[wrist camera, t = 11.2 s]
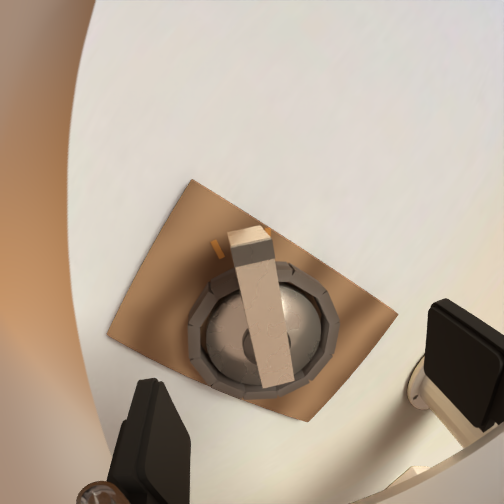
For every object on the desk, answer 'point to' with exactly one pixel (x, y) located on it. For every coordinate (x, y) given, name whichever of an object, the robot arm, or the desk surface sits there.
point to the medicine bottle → (409, 474)
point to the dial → (261, 318)
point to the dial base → (199, 263)
